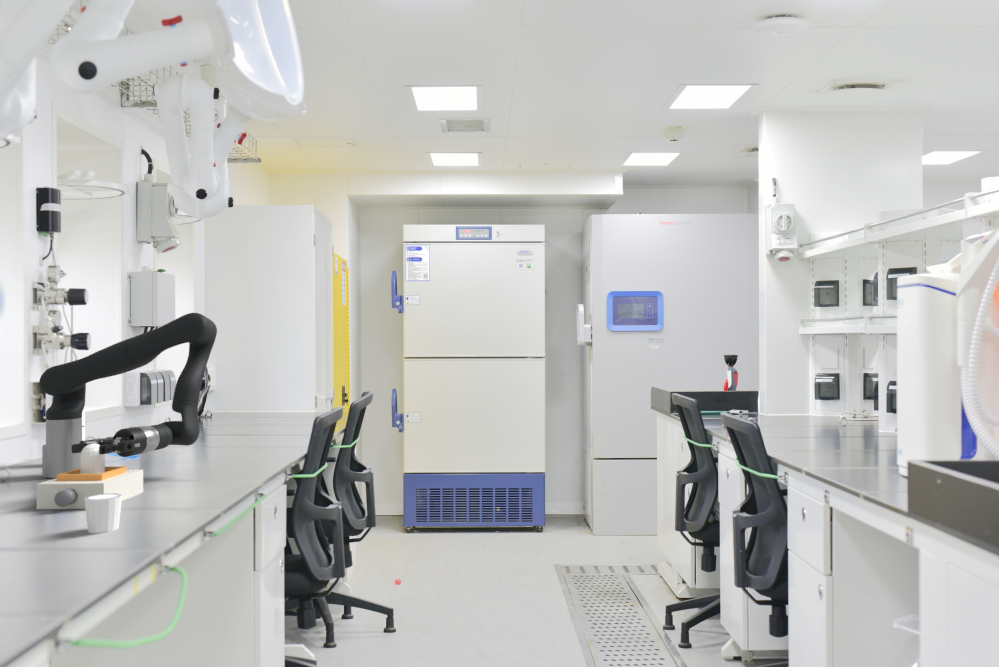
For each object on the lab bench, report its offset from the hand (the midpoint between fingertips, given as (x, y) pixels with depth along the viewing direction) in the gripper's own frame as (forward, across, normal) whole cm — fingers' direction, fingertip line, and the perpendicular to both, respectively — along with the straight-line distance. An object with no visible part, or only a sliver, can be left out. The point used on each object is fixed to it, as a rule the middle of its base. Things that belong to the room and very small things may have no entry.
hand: (86, 449), depth 170 cm
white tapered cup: (+20, +26, +13) cm, 35 cm away
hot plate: (0, 0, +13) cm, 13 cm away
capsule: (-2, 0, +7) cm, 7 cm away
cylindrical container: (-44, -52, +13) cm, 69 cm away
